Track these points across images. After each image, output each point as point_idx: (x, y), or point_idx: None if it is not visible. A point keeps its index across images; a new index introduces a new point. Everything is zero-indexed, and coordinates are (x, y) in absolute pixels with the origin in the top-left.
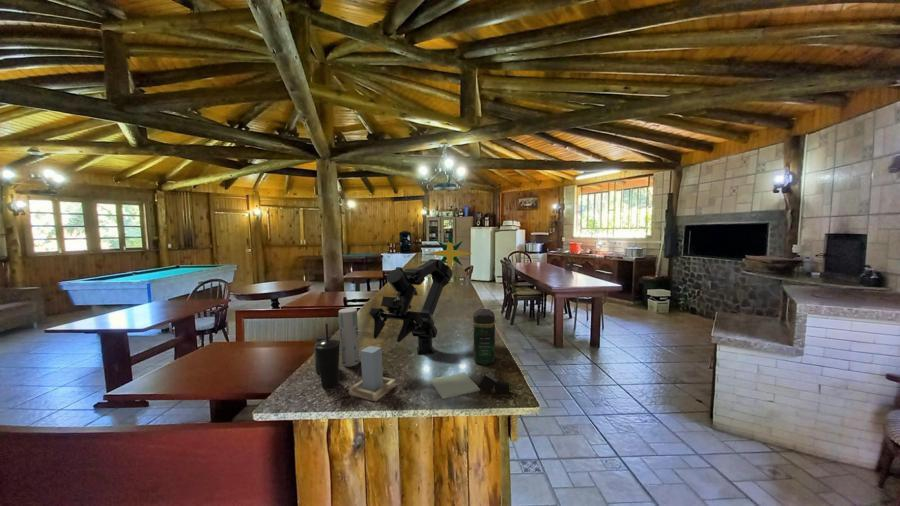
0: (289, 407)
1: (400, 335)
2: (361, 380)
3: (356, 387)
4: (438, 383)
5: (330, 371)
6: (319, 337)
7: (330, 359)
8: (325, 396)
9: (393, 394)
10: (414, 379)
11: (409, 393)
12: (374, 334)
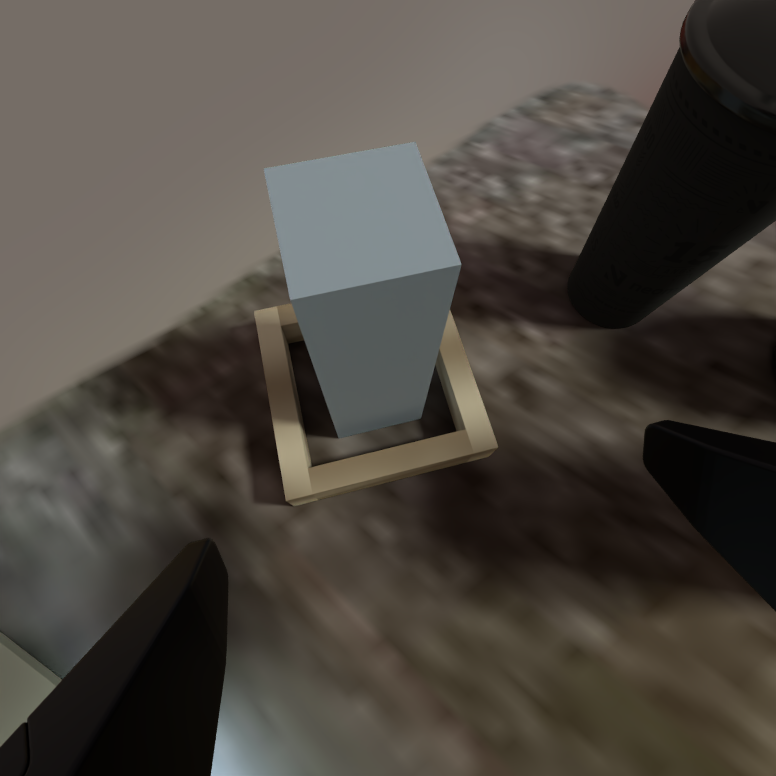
0: (535, 122)
1: (127, 614)
2: (463, 362)
3: None
4: (11, 712)
5: (603, 207)
6: None
7: (638, 134)
8: (509, 228)
9: (234, 426)
10: (243, 660)
11: (155, 491)
12: (698, 433)
